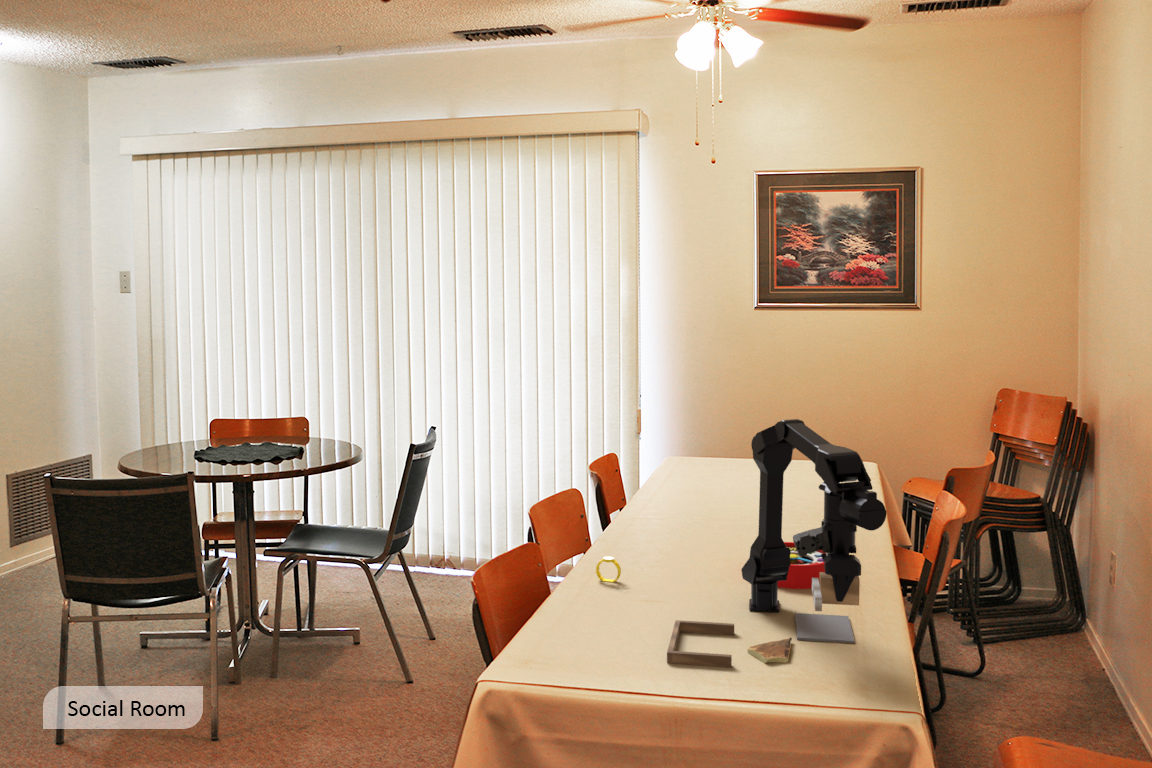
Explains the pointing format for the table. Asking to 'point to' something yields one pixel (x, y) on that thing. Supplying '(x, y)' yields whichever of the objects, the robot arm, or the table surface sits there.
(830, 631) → the rubber mat
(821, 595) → the wood and metal bracket
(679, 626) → the bar
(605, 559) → the watch
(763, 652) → the shard
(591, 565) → the table surface
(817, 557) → the toy clock
